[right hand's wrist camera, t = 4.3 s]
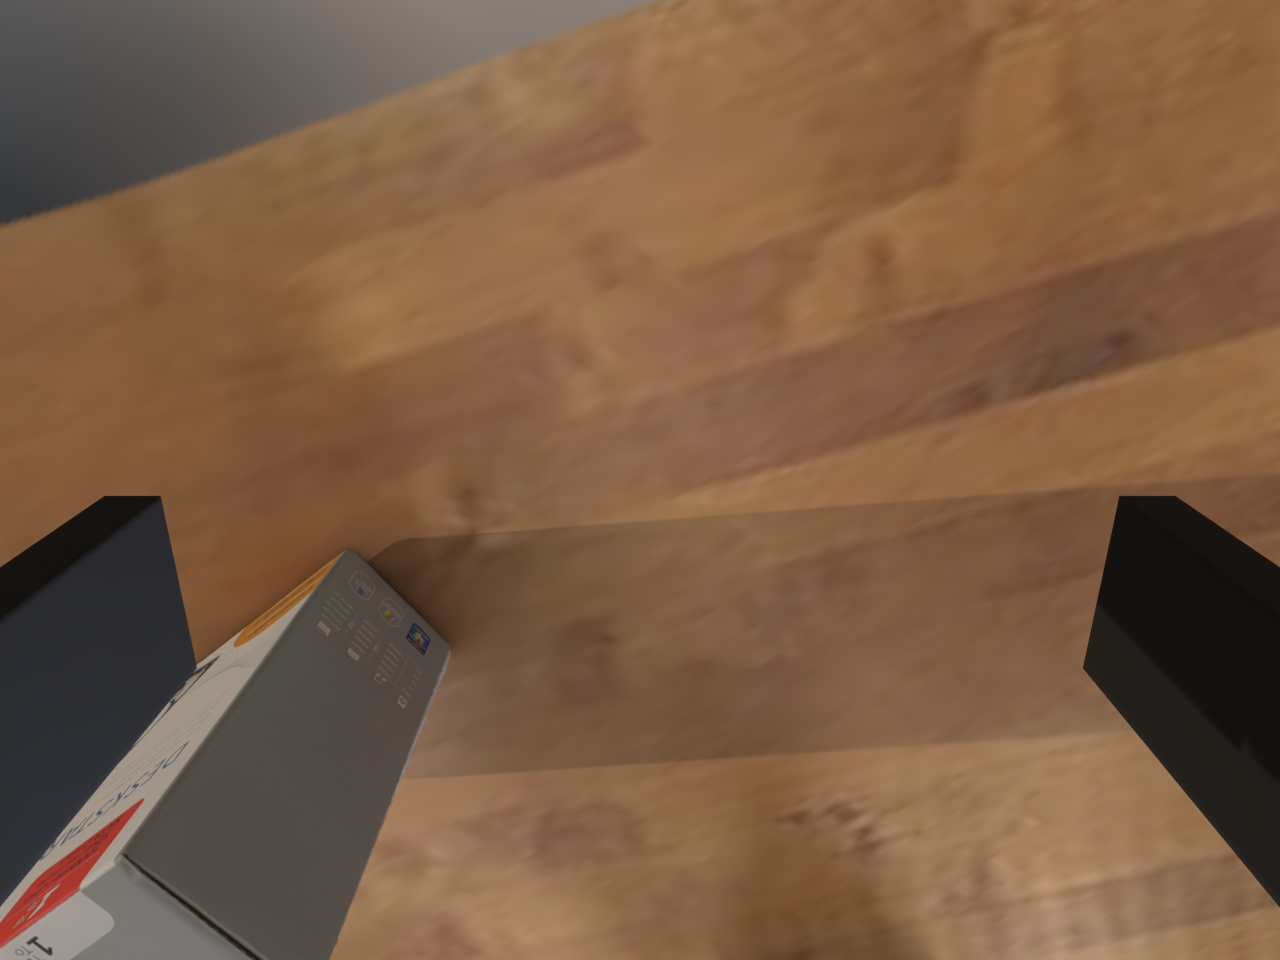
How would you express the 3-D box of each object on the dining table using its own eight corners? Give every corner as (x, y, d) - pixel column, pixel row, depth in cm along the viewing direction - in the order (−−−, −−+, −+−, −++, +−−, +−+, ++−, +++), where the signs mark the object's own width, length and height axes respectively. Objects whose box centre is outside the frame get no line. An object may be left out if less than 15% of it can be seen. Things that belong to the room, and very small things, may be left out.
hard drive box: (349, 538, 43) (128, 850, 24) (458, 646, 45) (330, 1008, 27) (137, 706, 46) (-199, 1091, 28) (246, 799, 49) (3, 1213, 30)
